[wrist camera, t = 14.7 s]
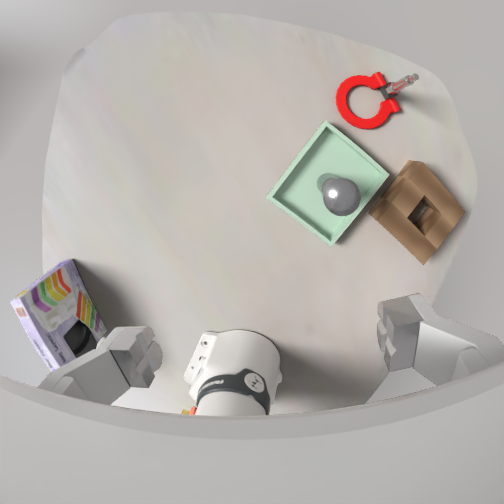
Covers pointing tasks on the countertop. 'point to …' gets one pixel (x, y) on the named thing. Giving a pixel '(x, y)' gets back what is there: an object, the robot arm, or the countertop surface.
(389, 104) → the tow hook
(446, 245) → the countertop surface
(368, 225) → the countertop surface
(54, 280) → the cake pan box
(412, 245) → the block
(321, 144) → the tray
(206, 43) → the countertop surface
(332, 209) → the pin
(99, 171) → the countertop surface
